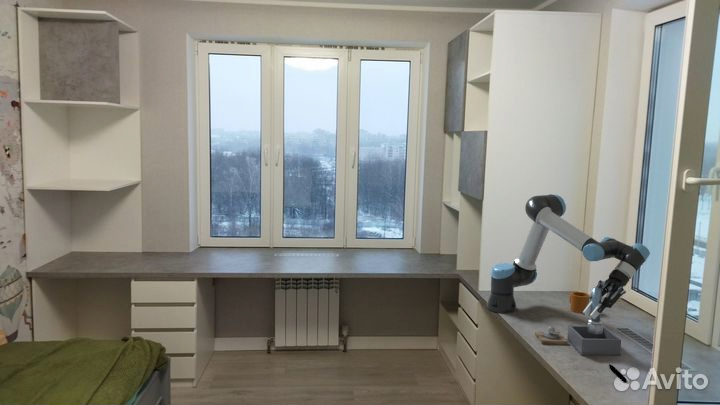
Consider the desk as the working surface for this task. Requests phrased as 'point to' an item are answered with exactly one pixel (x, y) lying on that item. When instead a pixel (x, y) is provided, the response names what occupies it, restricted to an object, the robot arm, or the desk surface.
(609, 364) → the pen
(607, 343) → the bin
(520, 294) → the desk surface
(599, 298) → the strut
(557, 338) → the stud base
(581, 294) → the mug
